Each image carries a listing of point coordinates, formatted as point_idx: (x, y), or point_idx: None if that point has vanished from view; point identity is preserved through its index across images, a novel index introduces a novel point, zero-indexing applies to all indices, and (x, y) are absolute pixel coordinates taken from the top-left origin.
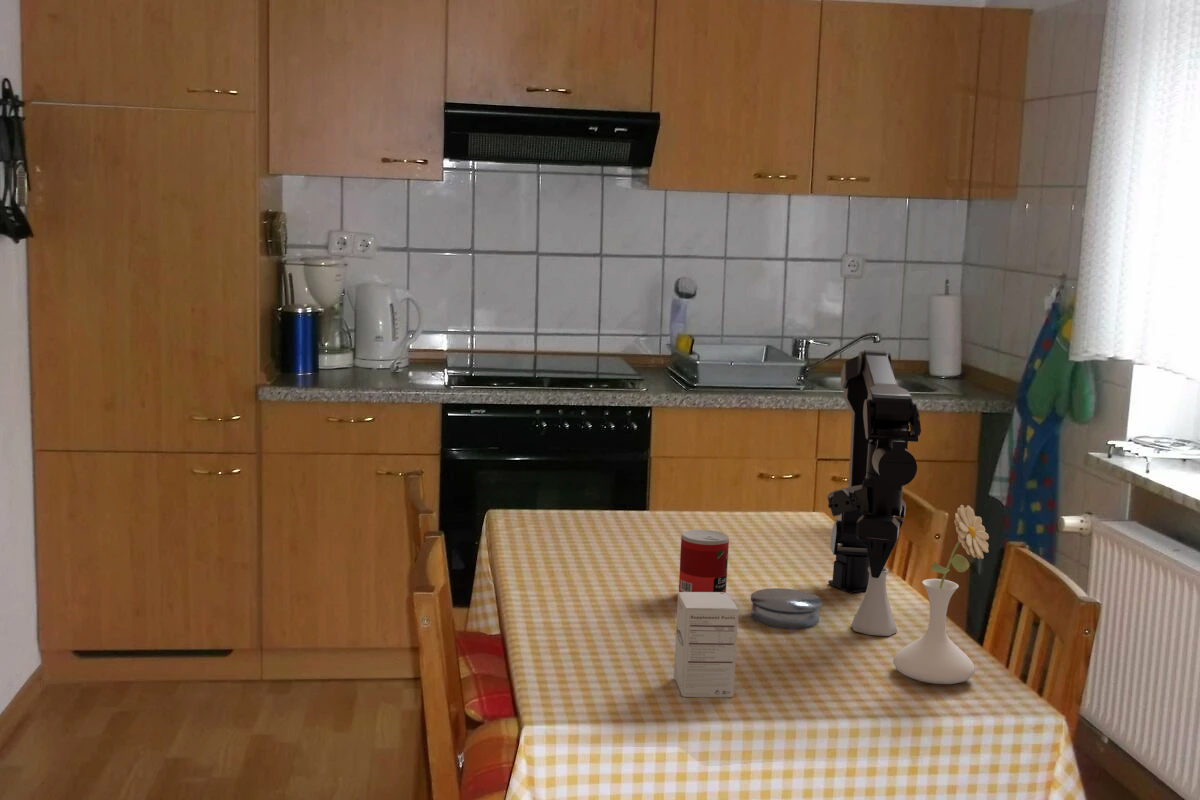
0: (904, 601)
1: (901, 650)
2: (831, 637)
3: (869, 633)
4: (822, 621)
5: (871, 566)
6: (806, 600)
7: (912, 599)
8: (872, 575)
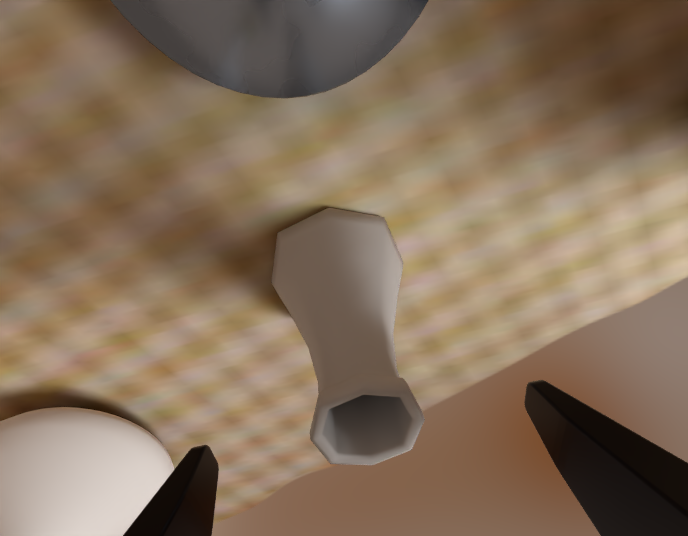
0: (631, 268)
1: (11, 454)
2: (178, 184)
3: (272, 279)
4: (327, 100)
5: (135, 527)
6: (303, 2)
7: (654, 280)
8: (184, 460)
